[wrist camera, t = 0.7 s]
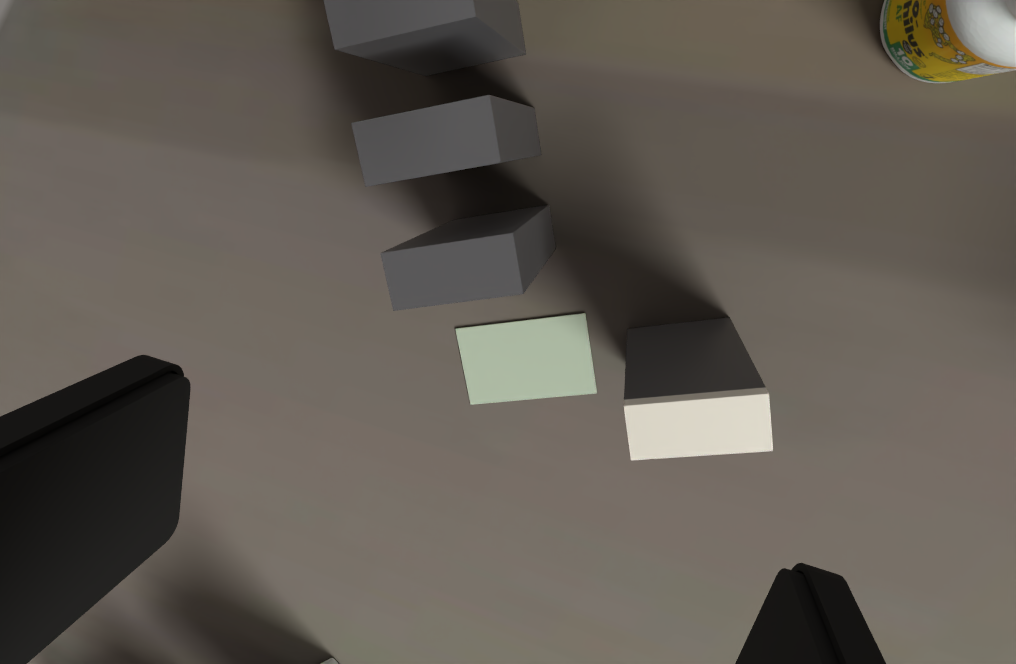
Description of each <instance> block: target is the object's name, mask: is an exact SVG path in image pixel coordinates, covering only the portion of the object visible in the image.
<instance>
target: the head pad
mask: <svg viewBox="0 0 1016 664" xmlns="http://www.w3.org/2000/svg"><path fill="white" fill-rule="evenodd" d="M456 334H457V339H458V344H459V349H460V354H461V359H462V364H463V369H464V374H465V379H466V384H467V389H468V394H469V399H470V404H471V405H472V404H483V403H494V402H505V401H516V400H527V399H538V398H549V397H560V396H571V395H582V394H593V393H597V390H596V383H595V376H594V369H593V362H592V355H591V348H590V342H589V335H588V328H587V321H586V314H585V313H581V314H573V315H564V316H556V317H548V318H539V319H531V320H522V321H514V322H506V323H497V324H489V325H481V326H472V327H464V328H456Z"/></svg>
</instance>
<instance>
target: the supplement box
mask: <svg viewBox="0 0 1016 664" xmlns="http://www.w3.org/2000/svg"><path fill="white" fill-rule="evenodd" d="M321 664H339V663H338V662H337V661H336V660H335V659H334V658H330V659H328V660H327V661H325V662H323V663H321Z"/></svg>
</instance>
